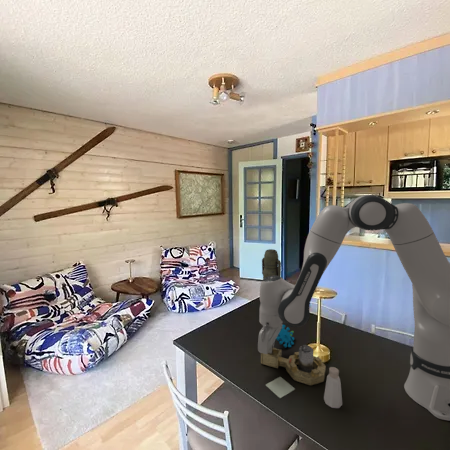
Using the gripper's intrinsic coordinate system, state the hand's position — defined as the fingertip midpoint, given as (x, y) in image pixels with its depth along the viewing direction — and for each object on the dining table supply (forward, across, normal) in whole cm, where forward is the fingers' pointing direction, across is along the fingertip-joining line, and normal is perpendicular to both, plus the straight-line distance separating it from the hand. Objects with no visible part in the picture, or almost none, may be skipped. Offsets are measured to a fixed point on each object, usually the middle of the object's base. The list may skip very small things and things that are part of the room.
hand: (270, 351), depth 99 cm
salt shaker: (+5, -10, -23) cm, 26 cm away
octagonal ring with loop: (+4, 0, -8) cm, 9 cm away
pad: (+4, -11, -7) cm, 14 cm away
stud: (+4, 0, -13) cm, 14 cm away
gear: (+5, +15, -2) cm, 16 cm away
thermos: (+5, +42, +13) cm, 44 cm away
